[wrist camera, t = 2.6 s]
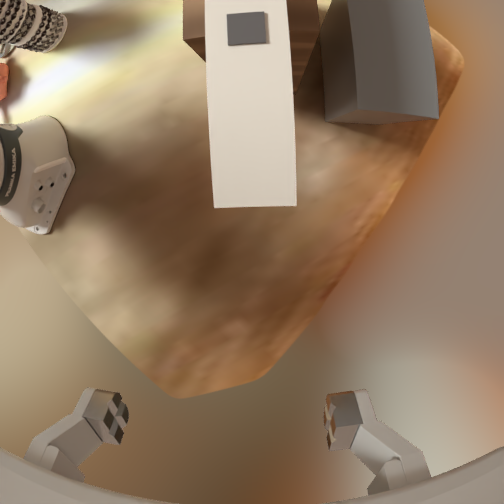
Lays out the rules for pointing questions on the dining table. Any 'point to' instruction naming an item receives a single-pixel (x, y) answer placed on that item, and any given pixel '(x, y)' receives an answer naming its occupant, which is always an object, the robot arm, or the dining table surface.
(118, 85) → the dining table surface
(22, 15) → the decorative candle
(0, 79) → the teapot
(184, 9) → the walnut post
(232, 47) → the power strip
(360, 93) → the dark grey block
